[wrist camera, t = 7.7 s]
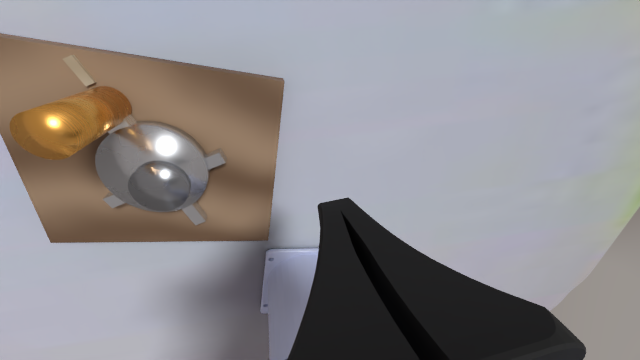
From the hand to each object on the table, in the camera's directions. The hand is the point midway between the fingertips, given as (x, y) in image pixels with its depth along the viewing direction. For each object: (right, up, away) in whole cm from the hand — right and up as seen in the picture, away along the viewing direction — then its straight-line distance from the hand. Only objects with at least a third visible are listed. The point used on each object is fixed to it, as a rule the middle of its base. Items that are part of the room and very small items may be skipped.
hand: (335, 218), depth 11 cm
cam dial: (-11, +2, +6) cm, 12 cm away
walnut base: (-11, +3, +7) cm, 14 cm away
